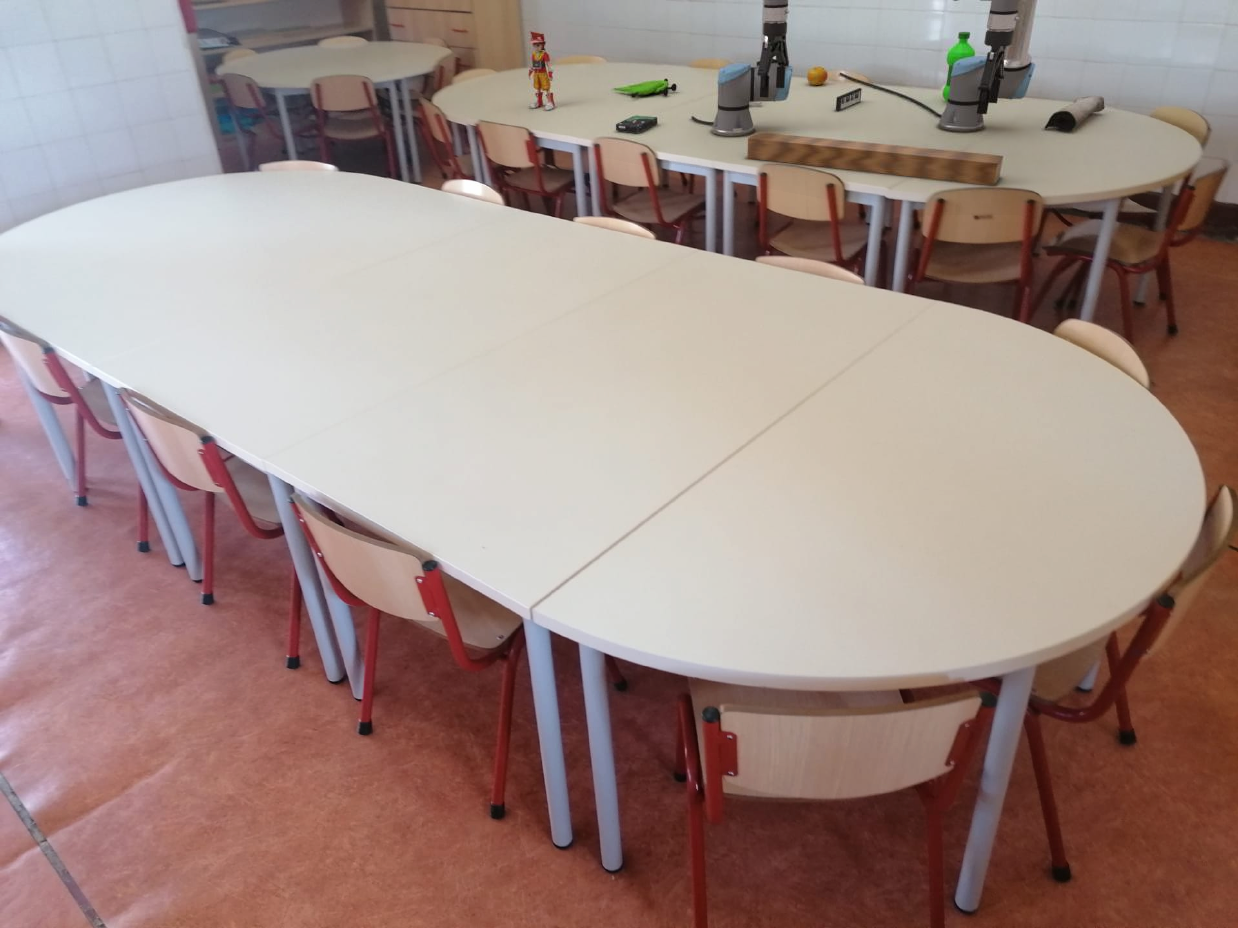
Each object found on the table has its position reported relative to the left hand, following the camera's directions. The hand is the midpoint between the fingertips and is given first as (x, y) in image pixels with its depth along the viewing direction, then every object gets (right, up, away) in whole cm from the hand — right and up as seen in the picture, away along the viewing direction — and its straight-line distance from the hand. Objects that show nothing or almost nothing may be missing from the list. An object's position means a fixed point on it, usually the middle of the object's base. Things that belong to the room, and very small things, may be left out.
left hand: (772, 92), depth 295 cm
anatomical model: (+2, +27, +76) cm, 80 cm away
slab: (+30, -26, -3) cm, 40 cm away
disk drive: (-44, +8, +52) cm, 68 cm away
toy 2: (-41, +42, +102) cm, 117 cm away
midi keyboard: (+41, +21, +63) cm, 78 cm away
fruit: (+36, +43, +96) cm, 111 cm away
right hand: (+59, -17, -30) cm, 68 cm away
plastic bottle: (+82, +21, +60) cm, 104 cm away
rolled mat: (+114, +1, +28) cm, 118 cm away
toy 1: (-83, +30, +88) cm, 124 cm away
